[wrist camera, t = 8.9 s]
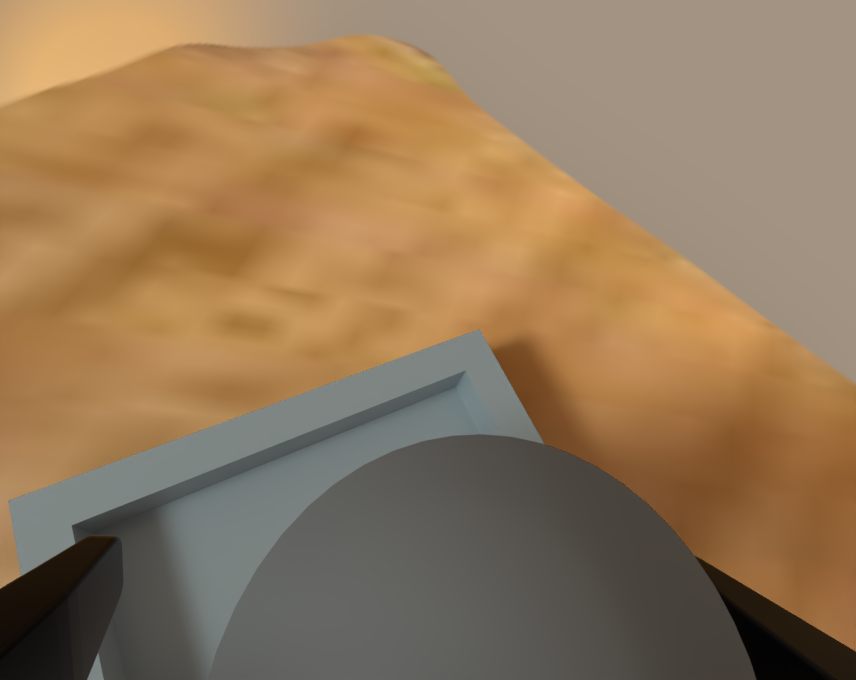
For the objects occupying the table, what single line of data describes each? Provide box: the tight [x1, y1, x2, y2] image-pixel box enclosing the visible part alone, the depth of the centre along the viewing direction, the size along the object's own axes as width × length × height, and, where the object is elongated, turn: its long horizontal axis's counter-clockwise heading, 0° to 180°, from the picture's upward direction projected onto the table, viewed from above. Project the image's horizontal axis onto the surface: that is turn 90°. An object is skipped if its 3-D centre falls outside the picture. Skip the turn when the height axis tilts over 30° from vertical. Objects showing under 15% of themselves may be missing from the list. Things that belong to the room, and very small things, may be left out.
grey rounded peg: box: [208, 434, 756, 680], centre depth 9 cm, size 5×5×12 cm
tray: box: [8, 329, 544, 680], centre depth 14 cm, size 14×14×2 cm
